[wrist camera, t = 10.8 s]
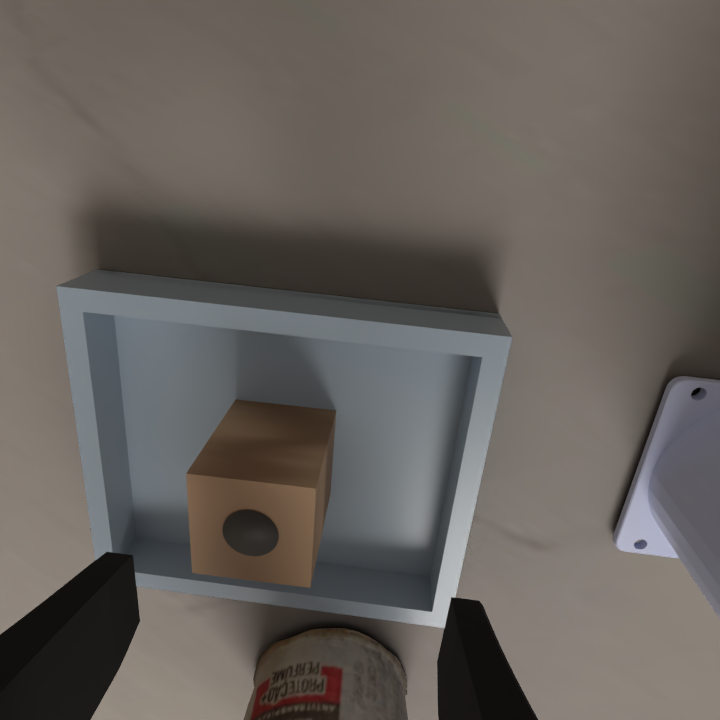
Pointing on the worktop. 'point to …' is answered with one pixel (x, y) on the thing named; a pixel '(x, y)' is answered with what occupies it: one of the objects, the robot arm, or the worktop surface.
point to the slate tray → (297, 388)
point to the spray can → (328, 679)
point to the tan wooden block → (262, 493)
